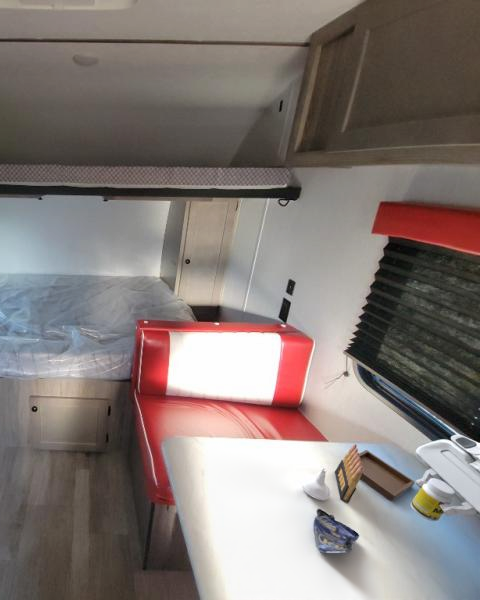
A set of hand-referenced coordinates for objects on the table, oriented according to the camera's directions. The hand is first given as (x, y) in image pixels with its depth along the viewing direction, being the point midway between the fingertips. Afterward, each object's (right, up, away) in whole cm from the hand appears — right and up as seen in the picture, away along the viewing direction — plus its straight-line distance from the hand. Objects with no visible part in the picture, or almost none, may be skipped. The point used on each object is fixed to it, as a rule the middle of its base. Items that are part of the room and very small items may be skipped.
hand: (430, 497), depth 75 cm
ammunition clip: (-5, -8, +19) cm, 22 cm away
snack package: (-19, -12, +5) cm, 23 cm away
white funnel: (-15, -8, +17) cm, 24 cm away
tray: (+9, -8, +24) cm, 27 cm away
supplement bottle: (0, -4, +2) cm, 5 cm away
